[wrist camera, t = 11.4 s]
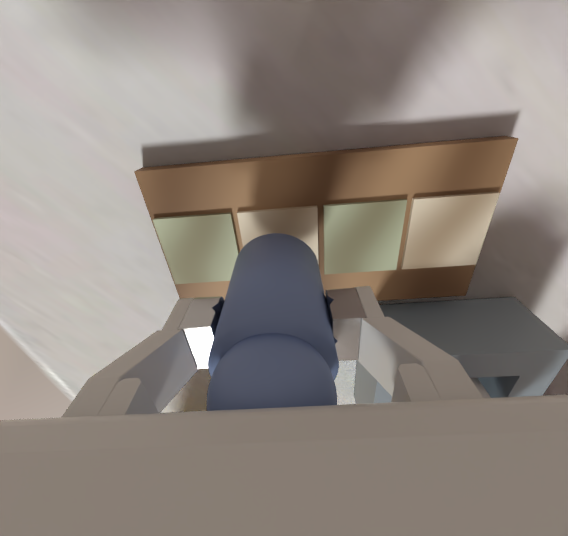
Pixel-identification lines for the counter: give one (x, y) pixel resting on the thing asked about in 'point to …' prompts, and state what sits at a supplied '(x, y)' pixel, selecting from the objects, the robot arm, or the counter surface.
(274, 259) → the pawn
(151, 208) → the track board
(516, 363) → the base
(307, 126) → the counter surface
